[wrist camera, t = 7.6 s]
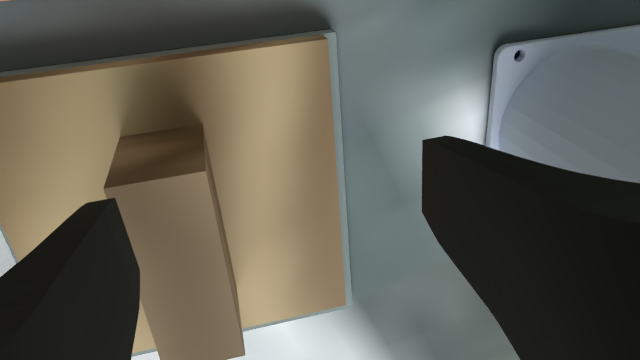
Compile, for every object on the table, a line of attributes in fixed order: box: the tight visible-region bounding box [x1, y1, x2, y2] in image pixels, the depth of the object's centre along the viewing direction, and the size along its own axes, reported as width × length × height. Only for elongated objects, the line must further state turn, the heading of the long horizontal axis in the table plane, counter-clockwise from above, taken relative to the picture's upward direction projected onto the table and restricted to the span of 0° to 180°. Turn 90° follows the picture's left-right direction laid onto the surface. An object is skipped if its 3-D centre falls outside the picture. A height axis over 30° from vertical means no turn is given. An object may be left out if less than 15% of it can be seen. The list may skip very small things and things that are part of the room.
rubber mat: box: [0, 29, 352, 357], centre depth 21 cm, size 14×14×1 cm
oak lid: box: [0, 35, 346, 360], centre depth 19 cm, size 13×13×5 cm
